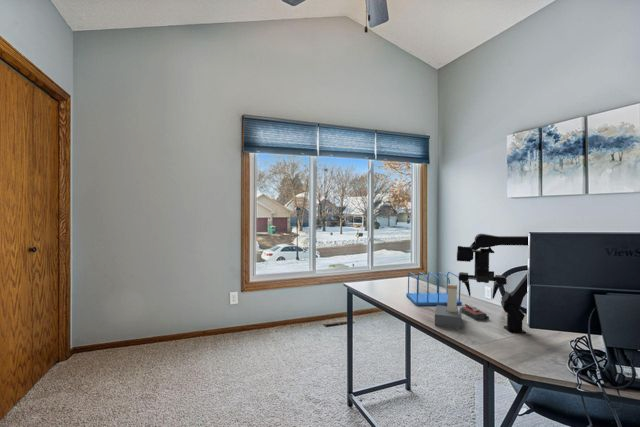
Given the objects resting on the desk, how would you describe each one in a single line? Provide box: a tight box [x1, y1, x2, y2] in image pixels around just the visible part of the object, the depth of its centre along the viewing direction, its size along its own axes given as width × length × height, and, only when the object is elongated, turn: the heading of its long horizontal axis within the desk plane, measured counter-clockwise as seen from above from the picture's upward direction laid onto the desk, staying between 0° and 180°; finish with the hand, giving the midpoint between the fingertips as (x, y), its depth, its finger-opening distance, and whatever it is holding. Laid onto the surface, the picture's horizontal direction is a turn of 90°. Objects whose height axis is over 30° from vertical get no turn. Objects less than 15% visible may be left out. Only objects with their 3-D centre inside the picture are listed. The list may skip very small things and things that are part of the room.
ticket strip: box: [446, 283, 458, 313], centre depth 149 cm, size 4×1×13 cm, turn 67°
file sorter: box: [406, 271, 463, 306], centre depth 182 cm, size 25×17×15 cm
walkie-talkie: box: [460, 303, 490, 321], centre depth 161 cm, size 9×4×20 cm
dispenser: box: [434, 305, 463, 330], centre depth 150 cm, size 11×14×6 cm
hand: (481, 297), depth 144 cm, fingers open, 9 cm apart
